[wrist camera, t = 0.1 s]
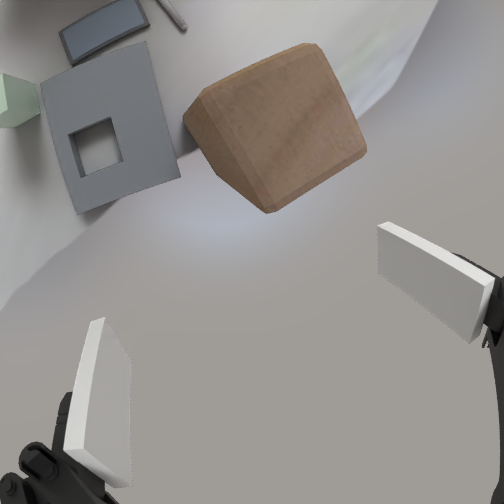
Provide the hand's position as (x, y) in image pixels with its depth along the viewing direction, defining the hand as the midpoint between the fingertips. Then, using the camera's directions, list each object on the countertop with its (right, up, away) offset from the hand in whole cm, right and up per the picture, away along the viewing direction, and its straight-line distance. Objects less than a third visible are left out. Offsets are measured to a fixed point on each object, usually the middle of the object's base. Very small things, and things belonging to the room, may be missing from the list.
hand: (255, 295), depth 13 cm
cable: (-12, +35, +13) cm, 39 cm away
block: (-3, +18, +23) cm, 30 cm away
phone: (-19, +30, +13) cm, 38 cm away
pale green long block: (-30, +21, +14) cm, 39 cm away
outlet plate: (-18, +17, +19) cm, 31 cm away
